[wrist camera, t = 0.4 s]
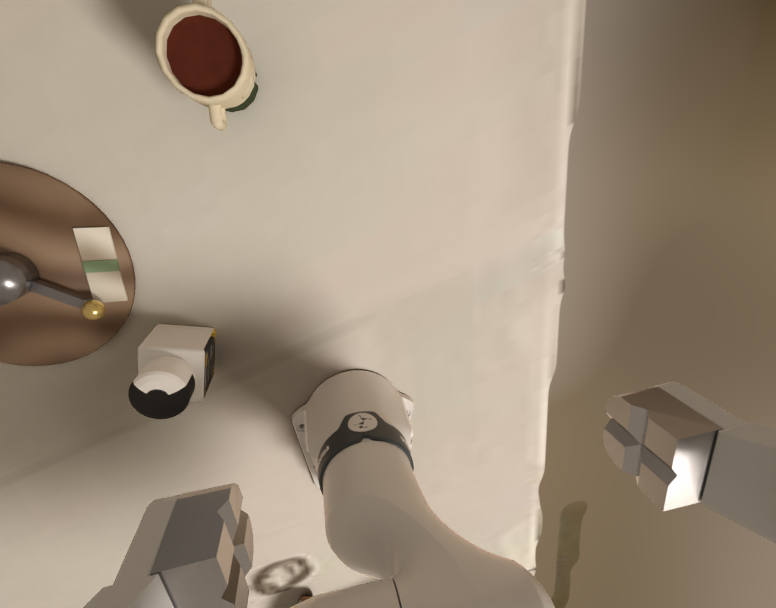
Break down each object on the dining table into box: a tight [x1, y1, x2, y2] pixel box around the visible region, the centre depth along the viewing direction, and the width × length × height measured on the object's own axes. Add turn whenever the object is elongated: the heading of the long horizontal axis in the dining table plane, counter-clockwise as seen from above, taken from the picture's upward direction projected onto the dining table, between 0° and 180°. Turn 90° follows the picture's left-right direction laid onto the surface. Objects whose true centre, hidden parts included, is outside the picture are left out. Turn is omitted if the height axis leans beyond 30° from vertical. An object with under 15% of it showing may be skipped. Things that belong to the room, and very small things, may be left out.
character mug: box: [155, 0, 258, 131], centre depth 38 cm, size 11×7×13 cm, turn 0°
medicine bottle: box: [129, 324, 216, 419], centre depth 48 cm, size 7×7×12 cm
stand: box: [0, 163, 135, 366], centre depth 46 cm, size 24×24×1 cm
